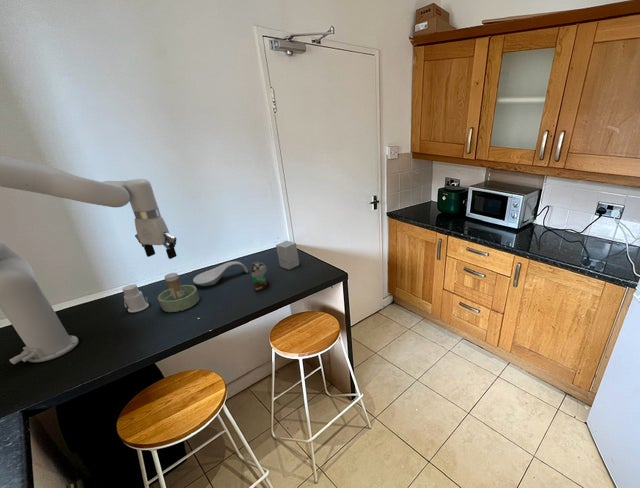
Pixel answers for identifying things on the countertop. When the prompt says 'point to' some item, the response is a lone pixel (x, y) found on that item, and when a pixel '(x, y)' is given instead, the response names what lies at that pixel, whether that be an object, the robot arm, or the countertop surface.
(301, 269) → the countertop surface
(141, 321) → the countertop surface
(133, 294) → the downlight
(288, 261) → the white packaging box
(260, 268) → the figurine
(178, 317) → the countertop surface
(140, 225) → the robot arm
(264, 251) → the countertop surface
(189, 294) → the bowl
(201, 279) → the spoon rest
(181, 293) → the sprinkles bottle
